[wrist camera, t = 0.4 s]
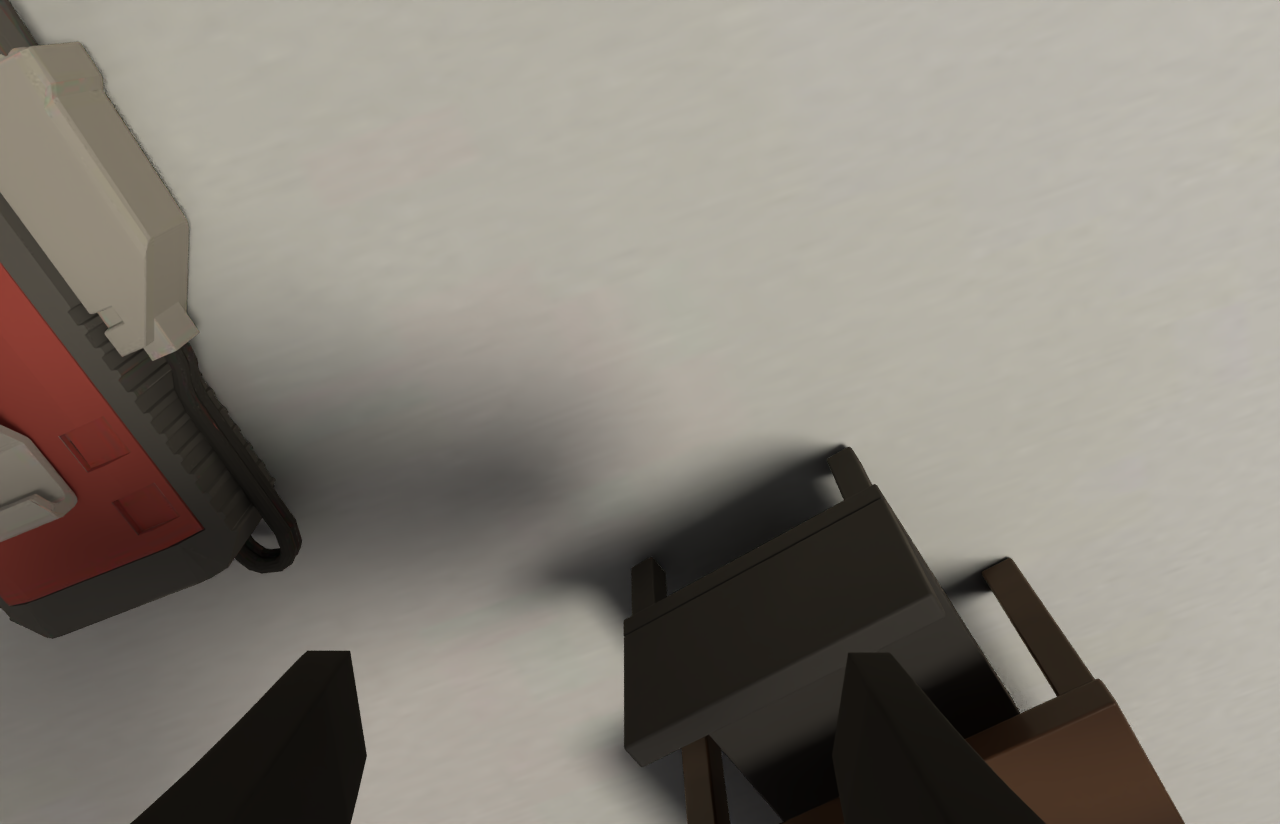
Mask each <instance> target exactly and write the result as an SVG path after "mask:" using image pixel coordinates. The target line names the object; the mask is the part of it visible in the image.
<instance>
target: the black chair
mask: <svg viewBox="0 0 1280 824" xmlns="http://www.w3.org/2000/svg"><path fill="white" fill-rule="evenodd" d="M827 462H828V465H829V467H830V469H831V472H832V474H833V476H834V479H835V481H836V483H837V485H838V488H839V490H840V492H841V495H842V497H843V499H844V501H842V502H840V503H839V504H837V505H835V506H833V507H831V508H829V509H828V510H826V511H824V512H822V513H820V514H818V515H817V516H815V517H813V518H811V519H809V520H807V521H806V522H804V523H802V524H800V525H798V526H796V527H794V528H793V529H791V530H789V531H787V532H785V533H783V534H782V535H780V536H778V537H776V538H774V539H772V540H771V541H769V542H767V543H765V544H763V545H761V546H760V547H758V548H756V549H754V550H752V551H750V552H749V553H747V554H745V555H743V556H741V557H739V558H738V559H736V560H734V561H732V562H730V563H728V564H726V565H725V566H723V567H721V568H719V569H717V570H715V571H714V572H712V573H710V574H708V575H706V576H704V577H703V578H701V579H699V580H697V581H695V582H693V583H692V584H690V585H688V586H686V587H684V588H682V589H681V590H679V591H677V592H675V593H673V594H671V595H669V596H668V597H667V587H666V574H665V572H664V570H663V569H662V568H661V567H660V565H659V564H658V563H657V562H656V560H655V559H654V558H653V557H650V558H648V559H646V560H644V561H642V562H641V563H639V564H637V565H635V566H634V567H632V568H631V575H632V616H631V617H629V618H627V619H625V620H624V637H625V638H624V748H625V750H626V751H627V752H628V753H629V754H630V755H631V757H632V758H633V759H634V760H635V761H636V762H637V763H638V764H639V765H640V766H641V767H644V766H646V765H648V764H650V763H652V762H654V761H656V760H658V759H660V758H662V757H664V756H666V755H668V754H670V753H672V752H674V751H677V750H679V749H681V748H683V747H685V746H687V745H689V744H691V743H693V742H695V741H697V740H699V739H701V738H703V737H705V736H707V735H710V737H711V738H712V739H713V740H714V741H715V742H716V743H717V745H718V746H719V747H720V748H721V749H722V750H723V752H724V753H725V754H726V755H727V756H728V757H729V759H730V760H731V761H732V762H733V763H734V764H735V766H736V767H737V768H738V769H739V770H740V771H741V773H742V774H743V775H744V776H745V777H746V778H747V780H748V781H749V782H750V783H751V784H752V785H753V786H754V788H755V789H756V790H757V791H758V792H759V793H760V795H761V796H762V797H763V798H764V799H765V800H766V802H767V803H768V804H769V805H770V806H771V807H772V809H773V810H774V811H775V812H776V813H777V814H778V816H779V817H780V818H781V819H782V820H783V821H787V820H789V819H791V818H793V817H795V816H798V815H800V814H802V813H804V812H806V811H808V810H811V809H813V808H815V807H817V806H819V805H822V804H824V803H826V802H828V801H830V800H833V799H835V798H837V797H839V792H838V786H837V781H836V775H835V770H834V764H833V759H832V752H833V746H834V740H835V733H836V727H837V721H838V714H839V708H840V701H841V695H842V689H843V682H844V676H845V669H846V663H847V657H848V652H871V653H891V654H892V655H893V656H894V658H895V659H896V660H897V661H898V662H899V663H900V664H901V666H902V667H903V668H904V669H905V670H906V672H907V673H908V674H909V675H910V676H911V677H912V679H913V680H914V681H915V682H916V683H917V685H918V686H919V687H920V688H921V689H922V691H923V692H924V693H925V694H926V695H927V697H928V698H929V699H930V700H931V701H932V702H933V704H934V705H935V706H936V707H937V708H938V709H939V711H940V712H941V713H942V714H943V715H944V716H945V718H946V719H947V720H948V721H949V722H950V723H951V724H952V726H953V727H954V728H955V729H956V730H957V731H958V732H959V733H960V735H961V736H962V737H963V738H964V739H966V738H968V737H970V736H972V735H975V734H977V733H979V732H981V731H983V730H986V729H988V728H990V727H992V726H994V725H997V724H999V723H1001V722H1003V721H1005V720H1007V719H1010V718H1012V717H1014V716H1016V715H1018V714H1020V712H1019V710H1018V709H1017V707H1016V705H1015V703H1014V701H1013V700H1012V698H1011V696H1010V695H1009V693H1008V692H1007V690H1006V688H1005V687H1004V685H1003V684H1002V682H1001V681H1000V679H999V677H998V676H997V674H996V673H995V671H994V670H993V668H992V666H991V665H990V663H989V662H988V660H987V658H986V657H985V655H984V654H983V652H982V651H981V649H980V647H979V646H978V644H977V643H976V641H975V639H974V638H973V636H972V635H971V633H970V632H969V630H968V628H967V627H966V625H965V624H964V622H963V621H962V619H961V617H960V616H959V614H958V613H957V611H956V609H955V608H954V606H953V605H952V603H951V602H950V600H949V598H948V597H947V595H946V594H945V592H944V591H943V589H942V587H941V586H940V584H939V583H938V581H937V579H936V578H935V576H934V575H933V573H932V572H931V570H930V568H929V567H928V565H927V564H926V562H925V561H924V559H923V557H922V556H921V554H920V553H919V551H918V549H917V548H916V546H915V545H914V543H913V542H912V540H911V538H910V537H909V535H908V534H907V532H906V531H905V529H904V527H903V526H902V524H901V523H900V521H899V519H898V518H897V516H896V515H895V513H894V512H893V510H892V508H891V507H890V505H889V504H888V502H887V500H886V499H885V497H884V496H883V494H882V493H881V491H880V489H879V488H878V486H877V485H876V484H874V485H872V484H871V482H870V480H869V478H868V476H867V474H866V472H865V470H864V468H863V466H862V464H861V462H860V461H859V459H858V458H857V456H856V454H855V453H854V451H853V450H852V448H850V447H847V448H845V449H843V450H842V451H840V452H838V453H836V454H834V455H833V456H831V457H829V458H828V459H827Z"/></svg>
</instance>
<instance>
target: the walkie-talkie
mask: <svg viewBox="0 0 1280 824" xmlns="http://www.w3.org/2000/svg"><path fill="white" fill-rule="evenodd" d="M188 251H189V226H188V222H187V219H186V217H185V216H184V214H183V213H182V211H181V210H180V208H179V207H178V205H177V204H176V202H175V200H174V199H173V197H172V196H171V194H170V193H169V191H168V190H167V188H166V187H165V185H164V183H163V182H162V180H161V179H160V177H159V176H158V174H157V173H156V171H155V170H154V168H153V166H152V165H151V163H150V162H149V160H148V159H147V157H146V156H145V154H144V153H143V151H142V150H141V148H140V146H139V145H138V143H137V142H136V140H135V139H134V137H133V136H132V134H131V133H130V131H129V129H128V128H127V126H126V125H125V123H124V122H123V120H122V119H121V117H120V116H119V114H118V112H117V111H116V109H115V108H114V106H113V105H112V103H111V102H110V100H109V99H108V97H107V95H106V94H105V92H104V91H103V79H102V75H101V74H100V72H99V71H98V69H97V67H96V66H95V64H94V63H93V61H92V60H91V58H90V57H89V55H88V54H87V52H86V51H85V49H84V47H83V46H82V44H81V43H79V42H72V43H61V44H50V45H38V44H37V43H36V41H35V40H34V38H33V37H32V35H31V34H30V32H29V31H28V29H27V28H26V26H25V25H24V23H23V22H22V20H21V19H20V17H19V16H18V14H17V13H16V11H15V10H14V8H13V7H12V5H11V4H10V2H9V1H8V0H0V608H2V609H3V610H4V611H5V612H6V613H7V615H8V616H9V617H10V620H11V621H13V622H15V623H17V624H19V625H21V626H23V627H26V628H28V629H30V630H32V631H34V632H36V633H38V634H40V635H42V636H44V637H47V638H52V639H53V638H56V637H60V636H63V635H66V634H68V633H71V632H73V631H76V630H79V629H81V628H84V627H86V626H89V625H92V624H94V623H97V622H99V621H102V620H105V619H107V618H110V617H112V616H115V615H118V614H120V613H123V612H125V611H128V610H131V609H133V608H136V607H138V606H141V605H144V604H146V603H149V602H152V601H154V600H157V599H159V598H162V597H165V596H167V595H170V594H172V593H175V592H178V591H180V590H183V589H185V588H188V587H191V586H193V585H196V584H198V583H201V582H203V581H205V580H207V579H210V578H212V577H214V576H215V575H217V574H218V573H220V572H221V571H223V570H225V569H226V568H228V567H229V565H230V564H231V563H232V561H233V560H234V558H235V559H236V560H237V561H238V562H240V563H241V564H242V565H243V566H245V567H246V568H247V569H249V570H252V571H255V572H259V573H270V572H279V571H283V570H284V569H286V568H287V567H288V566H290V565H291V564H292V563H293V561H294V559H295V556H296V555H298V552H299V550H300V548H301V544H302V539H301V535H300V532H299V529H298V525H297V522H296V519H295V518H294V517H293V515H292V514H291V512H290V511H289V509H288V508H287V507H286V505H285V504H284V502H283V501H282V500H281V498H280V497H279V495H278V494H277V492H276V491H275V490H274V483H275V479H274V478H273V477H271V476H270V474H269V473H268V471H267V470H266V469H265V464H264V463H263V462H262V460H259V459H258V457H257V456H256V454H255V453H254V451H253V450H252V449H253V447H252V446H251V444H250V443H248V442H247V441H246V440H245V439H244V437H243V436H242V434H241V433H240V431H241V430H240V429H239V427H238V426H237V425H235V424H234V423H233V421H232V420H231V419H230V417H229V416H228V414H227V413H228V411H227V410H226V409H225V407H223V406H221V404H220V403H219V401H218V400H217V399H216V397H215V396H214V395H215V393H214V391H213V390H212V389H211V388H209V387H208V386H207V384H206V383H205V381H204V380H203V379H202V377H201V376H202V374H201V373H200V371H199V370H198V362H197V358H196V356H195V354H194V352H193V350H192V348H191V346H190V344H189V343H188V341H189V340H191V339H192V338H193V337H194V336H196V335H197V334H198V333H200V332H199V331H198V329H197V328H196V326H195V325H194V323H193V322H192V320H191V319H190V317H189V316H188V315H187V284H188ZM262 518H263V519H264V520H265V522H266V523H267V525H268V526H269V527H270V529H271V530H272V531H273V533H274V534H275V536H276V538H277V541H278V543H279V546H280V548H278V549H266V548H264V547H263V546H262V545H260V544H259V543H257V542H256V541H255V540H254V539H253V538H252V536H251V534H252V532H253V531H254V529H255V528H256V526H257V525H258V524H259V522H260V521H261V519H262Z"/></svg>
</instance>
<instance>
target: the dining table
mask: <svg viewBox="0 0 1280 824" xmlns="http://www.w3.org/2000/svg"><path fill="white" fill-rule="evenodd" d="M982 575H983V577H984V579H985V580H986V582H987V584H988V585H989V587H990V589H991V590H992V592H993V594H994V595H995V597H996V598H997V600H998V602H999V603H1000V605H1001V607H1002V608H1003V610H1004V611H1005V613H1006V615H1007V616H1008V618H1009V619H1010V621H1011V623H1012V624H1013V626H1014V628H1015V629H1016V631H1017V632H1018V634H1019V636H1020V637H1021V639H1022V641H1023V642H1024V644H1025V645H1026V647H1027V649H1028V650H1029V652H1030V653H1031V655H1032V657H1033V658H1034V660H1035V662H1036V663H1037V665H1038V666H1039V668H1040V670H1041V671H1042V673H1043V675H1044V676H1045V678H1046V679H1047V681H1048V683H1049V684H1050V686H1051V688H1052V689H1053V691H1054V692H1055V694H1056V696H1057V697H1056V698H1053V699H1051V700H1049V701H1047V702H1045V703H1042V704H1040V705H1038V706H1036V707H1034V708H1032V709H1029V710H1027V711H1025V712H1023V713H1021V714H1018V715H1016V716H1014V717H1012V718H1010V719H1007V720H1005V721H1003V722H1001V723H999V724H997V725H994V726H992V727H990V728H988V729H986V730H983V731H981V732H979V733H977V734H975V735H972V736H970V737H968V738H966V739H965V740H966V741H967V742H968V743H969V745H970V746H971V747H972V748H973V749H974V750H975V751H976V752H977V753H978V754H979V755H980V757H981V758H982V759H983V760H984V761H985V762H986V763H987V764H988V765H989V766H990V767H991V768H992V770H993V771H994V772H995V773H996V774H997V775H998V776H999V777H1000V778H1001V779H1002V780H1003V781H1004V782H1005V783H1006V784H1007V785H1008V786H1009V787H1010V788H1011V789H1012V790H1013V791H1014V792H1015V794H1016V795H1017V796H1018V797H1020V798H1021V799H1022V800H1023V801H1024V802H1025V803H1026V804H1027V805H1028V806H1029V807H1030V808H1031V809H1032V810H1033V811H1034V812H1035V813H1036V814H1037V815H1038V816H1039V817H1040V818H1041V819H1042V820H1043V821H1044V822H1045V823H1046V824H1185V823H1184V821H1183V819H1182V817H1181V816H1180V814H1179V812H1178V810H1177V809H1176V807H1175V805H1174V803H1173V801H1172V800H1171V798H1170V796H1169V794H1168V793H1167V791H1166V789H1165V787H1164V785H1163V784H1162V782H1161V780H1160V778H1159V777H1158V775H1157V773H1156V771H1155V769H1154V768H1153V766H1152V764H1151V762H1150V761H1149V759H1148V757H1147V755H1146V753H1145V752H1144V750H1143V748H1142V746H1141V745H1140V743H1139V741H1138V739H1137V738H1136V736H1135V734H1134V732H1133V730H1132V729H1131V727H1130V725H1129V723H1128V722H1127V720H1126V718H1125V716H1124V714H1123V713H1122V711H1121V709H1120V707H1119V706H1118V704H1117V702H1116V700H1115V699H1114V698H1113V696H1112V695H1111V693H1110V692H1109V690H1108V689H1107V688H1106V686H1105V685H1104V683H1103V682H1102V681H1101V680H1100V679H1094V677H1093V676H1092V674H1091V673H1090V671H1089V670H1088V669H1087V667H1086V666H1085V664H1084V663H1083V661H1082V660H1081V658H1080V657H1079V656H1078V654H1077V653H1076V651H1075V650H1074V648H1073V647H1072V645H1071V644H1070V642H1069V641H1068V640H1067V638H1066V637H1065V635H1064V634H1063V632H1062V631H1061V629H1060V628H1059V626H1058V625H1057V624H1056V622H1055V621H1054V619H1053V618H1052V616H1051V615H1050V613H1049V612H1048V610H1047V609H1046V608H1045V606H1044V605H1043V603H1042V602H1041V600H1040V599H1039V597H1038V596H1037V594H1036V593H1035V592H1034V590H1033V589H1032V587H1031V586H1030V584H1029V583H1028V581H1027V580H1026V578H1025V577H1024V576H1023V574H1022V573H1021V571H1020V570H1019V568H1018V567H1017V565H1016V564H1015V562H1014V561H1013V560H1012V559H1011V558H1008V559H1006V560H1004V561H1002V562H1000V563H998V564H996V565H994V566H992V567H990V568H988V569H986V570H984V571H982ZM682 761H683V774H684V787H685V800H686V813H687V824H730V816H729V809H728V801H727V793H726V785H725V778H724V770H723V762H722V754H721V748H720V747H719V746H718V745H717V743H716V742H715V741H714V740H713V739H712V738H711V737H710V735H707V736H705V737H703V738H701V739H699V740H697V741H695V742H693V743H691V744H689V745H687V746H685V747H683V748H682ZM780 824H845V822H844V817H843V812H842V807H841V802H840V797H837V798H835V799H833V800H830V801H828V802H826V803H824V804H822V805H819V806H817V807H815V808H813V809H811V810H808V811H806V812H804V813H802V814H800V815H798V816H795V817H793V818H791V819H789V820H787V821H784V822H782V823H780Z"/></svg>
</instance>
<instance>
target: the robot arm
mask: <svg viewBox="0 0 1280 824" xmlns="http://www.w3.org/2000/svg"><path fill="white" fill-rule="evenodd" d="M366 757H367V754H366V748H365V741H364V735H363V729H362V723H361V716H360V710H359V704H358V698H357V691H356V685H355V679H354V672H353V666H352V660H351V654H350V651H307V652H306V653H304V654H303V655H302V656H301V657H300V658H299V659H298V660H297V661H296V662H295V663H294V664H293V665H292V666H291V667H290V668H289V669H288V670H287V671H286V673H285V674H284V675H283V676H282V677H281V678H280V679H279V680H278V681H277V682H276V683H275V684H274V685H273V686H272V687H271V688H270V689H269V690H268V691H267V692H266V693H265V694H264V696H263V697H262V698H261V699H260V700H259V701H258V702H257V703H256V704H255V705H254V706H253V707H252V708H251V709H250V710H249V711H248V712H247V713H246V714H245V715H244V716H243V717H242V718H241V719H240V720H239V721H238V722H237V723H236V724H235V725H234V726H233V727H232V728H231V729H230V730H229V731H228V732H227V733H226V734H225V735H224V736H223V737H222V738H221V739H220V740H219V741H218V742H217V743H216V744H215V745H214V746H213V747H212V748H211V749H210V750H209V751H208V752H207V753H206V754H205V755H204V756H203V757H202V758H201V759H200V760H199V761H198V762H197V763H196V764H195V765H194V766H193V767H192V768H191V769H190V770H189V771H188V772H187V773H186V774H185V775H183V776H182V777H181V778H180V779H179V780H178V781H177V782H176V783H175V784H174V785H172V786H171V787H170V788H169V789H168V790H167V791H166V792H165V793H164V794H163V795H162V796H160V797H159V798H158V799H157V800H156V801H155V802H154V803H153V804H152V805H151V806H149V807H148V808H147V809H146V810H145V811H144V812H143V813H142V814H141V815H140V816H138V817H137V818H136V819H135V820H134V821H133V822H132V823H130V824H351V820H352V816H353V812H354V808H355V804H356V800H357V796H358V792H359V787H360V783H361V779H362V774H363V770H364V765H365V761H366ZM832 759H833V764H834V770H835V775H836V781H837V786H838V792H839V797H840V802H841V807H842V812H843V817H844V822H845V824H1046V823H1045V822H1044V821H1043V820H1042V819H1041V818H1040V817H1039V816H1038V815H1037V814H1036V813H1035V812H1034V811H1033V810H1032V809H1031V808H1030V807H1029V806H1028V805H1027V804H1026V803H1025V802H1024V801H1023V800H1022V799H1021V798H1020V797H1018V796H1017V795H1016V794H1015V792H1014V791H1013V790H1012V789H1011V788H1010V787H1009V786H1008V785H1007V784H1006V783H1005V782H1004V781H1003V780H1002V779H1001V778H1000V777H999V776H998V775H997V774H996V773H995V772H994V771H993V770H992V768H991V767H990V766H989V765H988V764H987V763H986V762H985V761H984V760H983V759H982V758H981V757H980V755H979V754H978V753H977V752H976V751H975V750H974V749H973V748H972V747H971V746H970V745H969V743H968V742H967V741H966V740H965V739H964V738H963V737H962V736H961V735H960V733H959V732H958V731H957V730H956V729H955V728H954V727H953V726H952V724H951V723H950V722H949V721H948V720H947V719H946V718H945V716H944V715H943V714H942V713H941V712H940V711H939V709H938V708H937V707H936V706H935V705H934V704H933V702H932V701H931V700H930V699H929V698H928V697H927V695H926V694H925V693H924V692H923V691H922V689H921V688H920V687H919V686H918V685H917V683H916V682H915V681H914V680H913V679H912V677H911V676H910V675H909V674H908V673H907V672H906V670H905V669H904V668H903V667H902V666H901V664H900V663H899V662H898V661H897V660H896V659H895V658H894V656H893V655H892V654H891V653H871V652H848V657H847V663H846V669H845V676H844V682H843V689H842V695H841V701H840V708H839V714H838V721H837V727H836V733H835V740H834V746H833V752H832Z"/></svg>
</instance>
